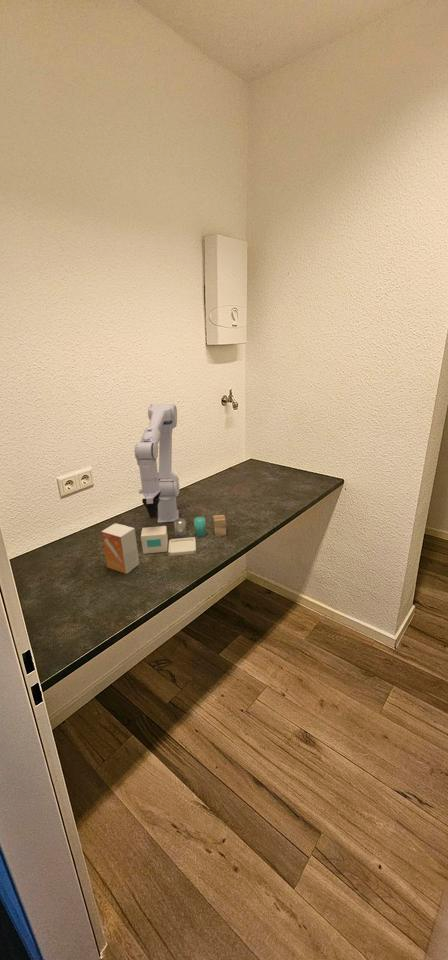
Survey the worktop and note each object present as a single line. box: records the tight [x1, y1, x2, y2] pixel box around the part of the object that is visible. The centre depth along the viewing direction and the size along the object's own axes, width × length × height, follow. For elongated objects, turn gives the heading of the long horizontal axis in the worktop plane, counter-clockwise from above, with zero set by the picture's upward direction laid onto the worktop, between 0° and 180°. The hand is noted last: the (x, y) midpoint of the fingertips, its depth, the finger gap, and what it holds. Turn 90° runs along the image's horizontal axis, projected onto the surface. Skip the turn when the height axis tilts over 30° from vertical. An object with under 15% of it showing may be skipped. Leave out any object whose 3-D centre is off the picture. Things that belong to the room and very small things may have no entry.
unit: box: [140, 525, 169, 554], centre depth 133 cm, size 7×8×6 cm
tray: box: [167, 536, 197, 557], centre depth 133 cm, size 9×9×1 cm
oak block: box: [212, 514, 227, 537], centre depth 141 cm, size 4×4×6 cm
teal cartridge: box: [193, 516, 207, 538], centre depth 140 cm, size 4×4×6 cm
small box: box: [100, 522, 140, 575], centre depth 122 cm, size 8×6×13 cm
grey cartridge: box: [173, 517, 187, 539], centre depth 140 cm, size 4×4×6 cm
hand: (153, 514), depth 135 cm, fingers open, 4 cm apart
